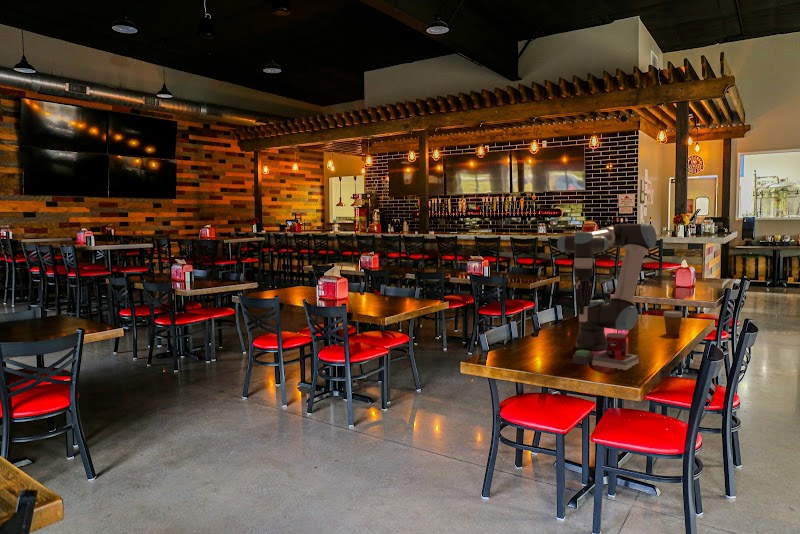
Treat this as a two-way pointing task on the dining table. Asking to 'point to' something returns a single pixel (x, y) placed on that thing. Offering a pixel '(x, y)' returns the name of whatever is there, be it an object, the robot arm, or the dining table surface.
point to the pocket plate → (615, 361)
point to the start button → (583, 353)
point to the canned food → (616, 346)
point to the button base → (582, 359)
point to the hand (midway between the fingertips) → (583, 321)
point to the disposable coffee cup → (672, 322)
